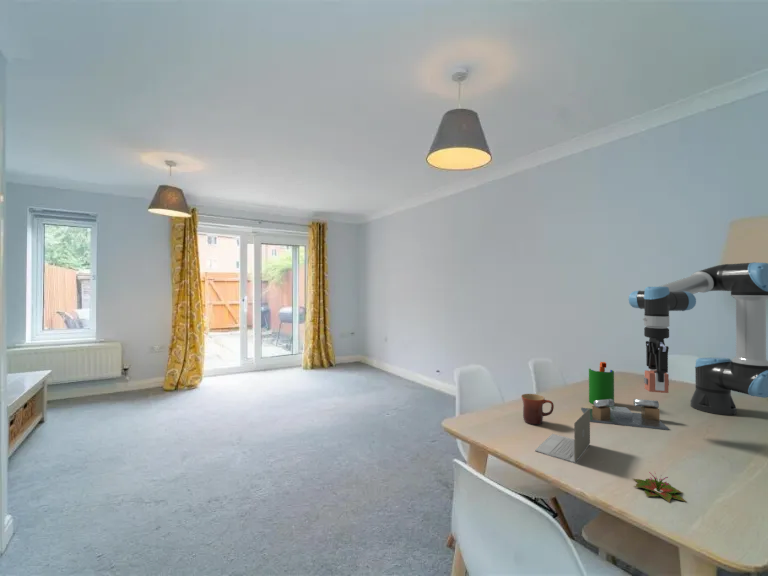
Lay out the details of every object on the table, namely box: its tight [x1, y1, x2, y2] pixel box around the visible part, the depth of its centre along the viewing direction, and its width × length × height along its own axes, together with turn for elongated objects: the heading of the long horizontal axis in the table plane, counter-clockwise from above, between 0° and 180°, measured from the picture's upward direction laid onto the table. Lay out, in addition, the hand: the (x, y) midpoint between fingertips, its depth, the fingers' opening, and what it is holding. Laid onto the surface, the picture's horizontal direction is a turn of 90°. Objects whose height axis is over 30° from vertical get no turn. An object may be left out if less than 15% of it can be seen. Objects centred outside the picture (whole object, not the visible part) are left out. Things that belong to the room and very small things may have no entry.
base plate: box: [580, 398, 669, 431], centre depth 148 cm, size 27×15×8 cm, turn 71°
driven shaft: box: [591, 399, 615, 420], centre depth 147 cm, size 8×4×7 cm, turn 106°
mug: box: [521, 393, 555, 426], centre depth 144 cm, size 12×9×10 cm
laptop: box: [534, 408, 591, 464], centre depth 121 cm, size 18×12×13 cm
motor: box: [588, 361, 615, 408], centre depth 167 cm, size 10×9×20 cm
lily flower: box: [632, 471, 688, 504], centre depth 96 cm, size 12×12×5 cm
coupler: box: [643, 369, 670, 394], centre depth 135 cm, size 7×4×7 cm, turn 73°
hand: (656, 388), depth 135 cm, fingers closed on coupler, 4 cm apart
